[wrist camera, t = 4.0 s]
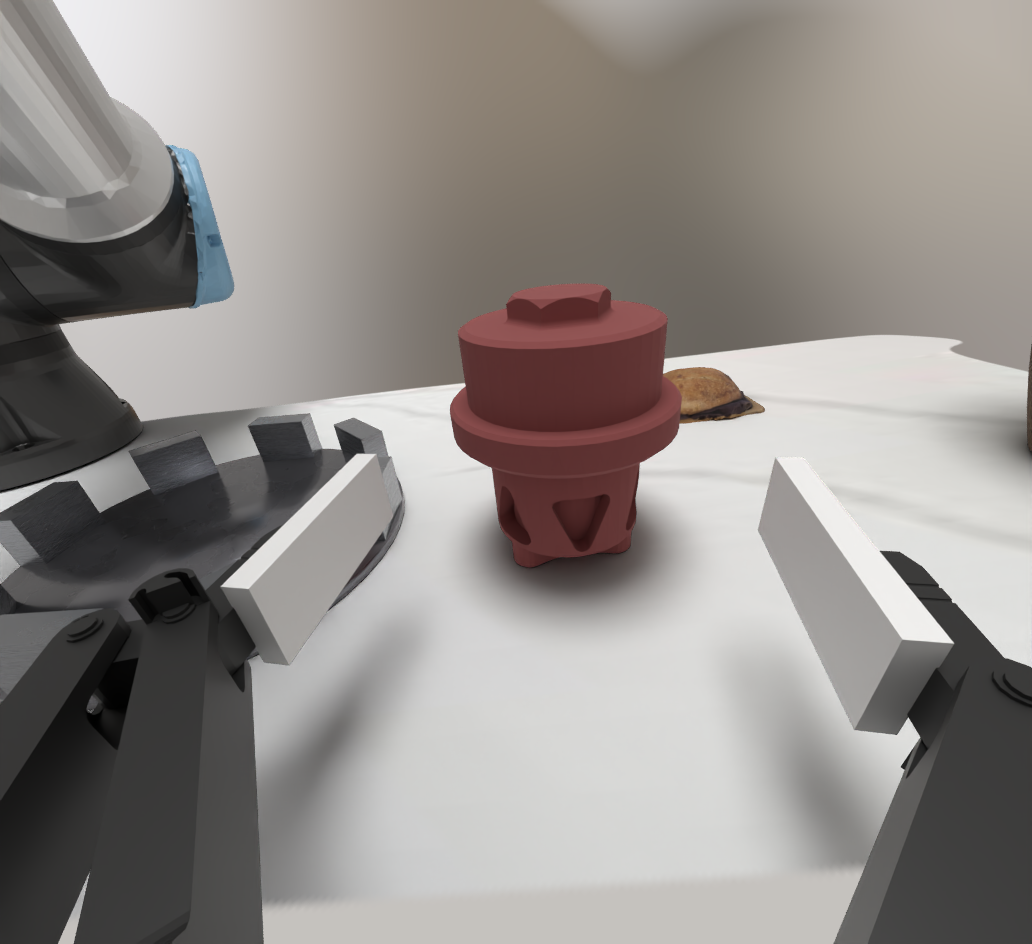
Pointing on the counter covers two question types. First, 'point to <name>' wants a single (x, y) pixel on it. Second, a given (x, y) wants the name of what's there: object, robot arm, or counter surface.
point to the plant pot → (1029, 405)
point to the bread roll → (710, 395)
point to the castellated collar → (167, 527)
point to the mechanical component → (565, 415)
